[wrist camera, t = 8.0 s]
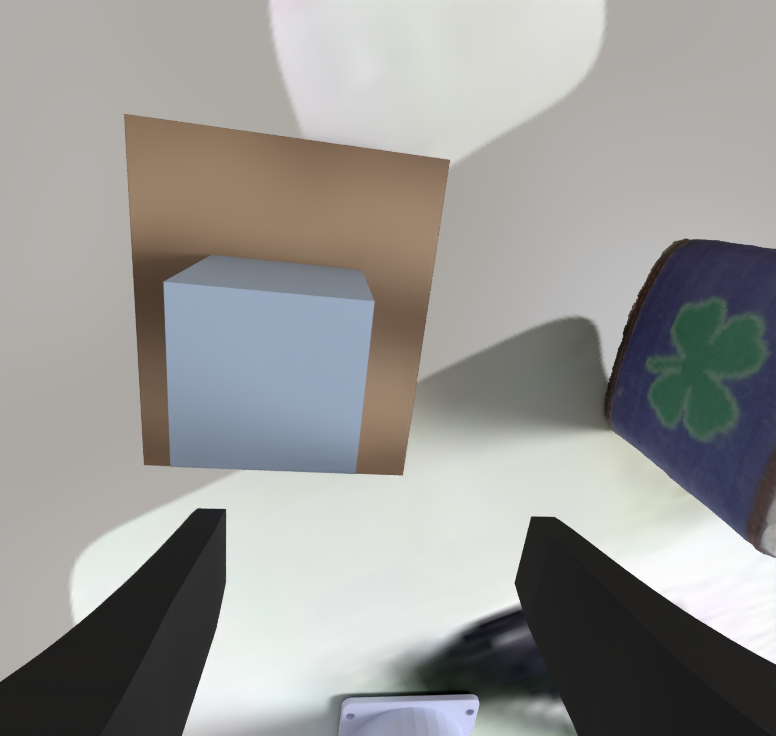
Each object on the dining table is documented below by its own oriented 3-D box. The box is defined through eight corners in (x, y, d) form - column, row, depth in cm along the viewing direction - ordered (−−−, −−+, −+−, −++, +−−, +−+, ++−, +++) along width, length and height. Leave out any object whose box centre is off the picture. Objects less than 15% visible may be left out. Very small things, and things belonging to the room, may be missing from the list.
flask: (640, 433, 24) (869, 613, 14) (585, 425, 23) (782, 606, 13) (720, 242, 21) (1088, 292, 11) (659, 228, 20) (987, 266, 10)
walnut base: (394, 445, 22) (402, 475, 20) (164, 433, 21) (144, 464, 18) (434, 163, 18) (449, 160, 16) (152, 124, 17) (123, 114, 14)
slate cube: (348, 401, 18) (355, 473, 14) (212, 393, 18) (170, 466, 13) (361, 269, 17) (374, 301, 12) (211, 254, 16) (163, 281, 11)
